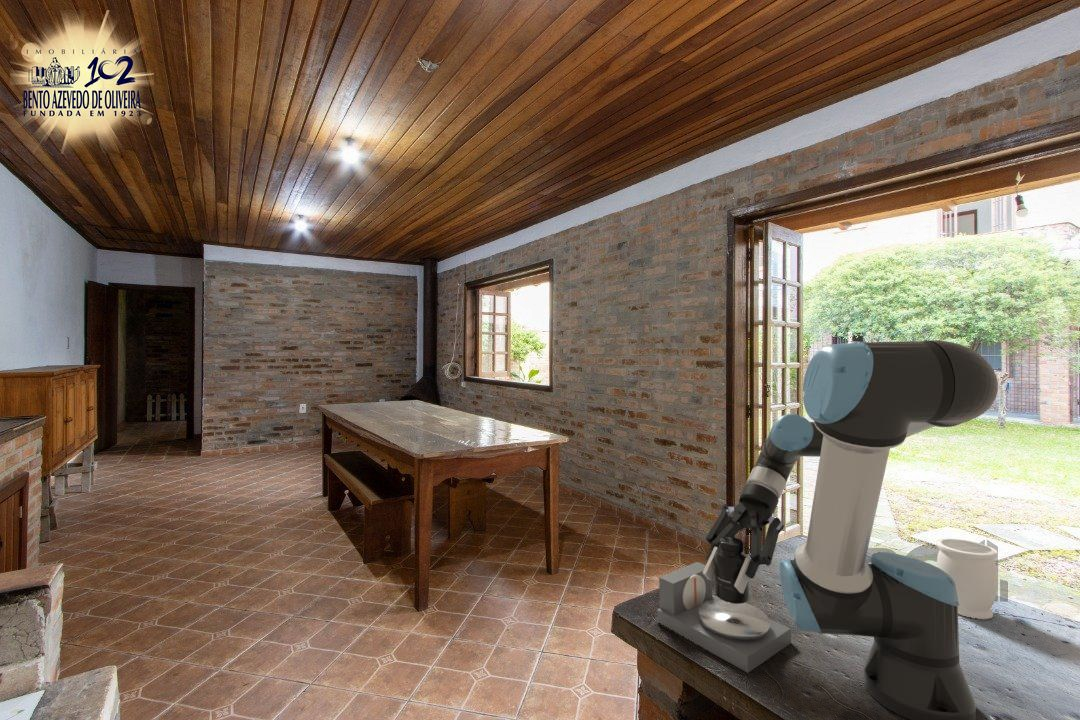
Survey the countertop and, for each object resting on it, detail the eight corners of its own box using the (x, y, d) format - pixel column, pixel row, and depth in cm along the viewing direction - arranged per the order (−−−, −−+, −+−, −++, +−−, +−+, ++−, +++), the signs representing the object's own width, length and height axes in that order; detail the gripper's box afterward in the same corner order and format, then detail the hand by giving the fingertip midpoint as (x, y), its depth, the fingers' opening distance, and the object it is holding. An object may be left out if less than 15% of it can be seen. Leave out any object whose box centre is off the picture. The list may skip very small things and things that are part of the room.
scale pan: (783, 624, 98) (783, 618, 98) (745, 648, 90) (745, 641, 90) (723, 598, 110) (723, 593, 110) (685, 617, 102) (685, 612, 102)
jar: (974, 600, 114) (972, 538, 114) (1013, 623, 103) (1010, 555, 104) (927, 599, 115) (925, 537, 115) (960, 622, 105) (958, 554, 105)
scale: (791, 643, 98) (789, 594, 98) (747, 672, 89) (746, 619, 89) (700, 601, 116) (699, 560, 116) (657, 622, 107) (656, 578, 107)
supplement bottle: (716, 602, 98) (714, 545, 98) (714, 587, 105) (712, 533, 105) (752, 606, 96) (750, 547, 96) (747, 591, 103) (746, 536, 103)
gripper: (813, 511, 101) (775, 611, 92) (730, 492, 117) (691, 575, 108) (800, 490, 98) (759, 591, 89) (717, 474, 114) (675, 558, 105)
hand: (722, 582), depth 98 cm, fingers closed on supplement bottle, 7 cm apart
